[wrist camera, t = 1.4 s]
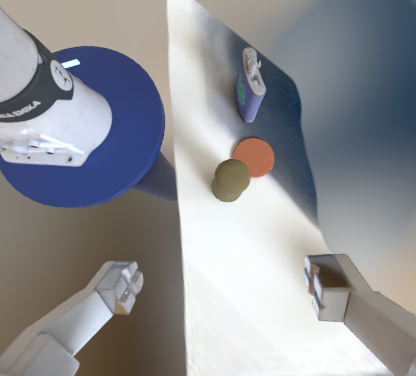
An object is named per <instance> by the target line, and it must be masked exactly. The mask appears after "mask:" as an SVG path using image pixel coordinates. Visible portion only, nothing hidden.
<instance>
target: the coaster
mask: <svg viewBox="0 0 416 376" xmlns="http://www.w3.org/2000/svg"><path fill="white" fill-rule="evenodd" d="M233 159H237V160H240V161H242V162H243V163H245V164H246V166H247V167H248V169H249V171H250V177H251V178H257V177H261V176H263V175H265V174H267V173H268V172H269V171H270V170H271V168H272V166H273V164H274V153H273V150H272V148H271V147H270V145H269V144H268V143H266V142H265V141H263V140H261V139H257V138H250V139H246V140H244V141H242V142H241V143H240V144H239V145H238V146H237V147H236V149H235V151H234V155H233Z"/></svg>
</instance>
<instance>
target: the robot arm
mask: <svg viewBox="0 0 416 376" xmlns="http://www.w3.org/2000/svg"><path fill="white" fill-rule="evenodd" d="M78 64H80V63H79V61H78V60H77V59H76V60H73V61H69V62H66V63H62V64H61V63H60V62H59V60H58V59H57V58H56V57H55V56H54V55H53V54H52V53H51V52H50V51H49V50H48V49H47V48H46V47H45V46H44V45H43V44H42V43H41V42H40V41H39V40H38V39H37V38H36V37H35V36H34V35H32V34H31V33H30V32H28V31H27V30H25V29H23V28H21V27H20V26H19V25H18V24H17V23H16V22H15V21H14V20H13V19H12V18H11V17H10V16H9V15H8V14H7V13H6V12H5V11H4V10H3V9H2V8H1V7H0V154H1V156H2V157H3V159H4V160H5V161H7V162H10V163H18V164H37V165H55V166H73V167H79V166H81V165H82V164H83V163H84V162H85V161H86V159H87V157H88V156H89V154H90V153H91V152H92V151H93V150H94V149H95V148H97V147H98V146H99V145H100V144H101V143H102V142H103V141H104V139H105V138H106V136H107V135H108V133H109V131H110V128H111V124H112V112H111V108H110V106H109V104H108V102H107V101H106V99H105V98H104V97H103V96H102V95H100V94H99V93H97V92H96V91H94V90H92V89H91V88H89V87H88V86H87V85H85V84H84V83H83V82H82V81H81V80H80V79H78V78H77V77H75V76H74V75H72V74H71V73H70V72H69V71H67V70H66V69H65V68H67V67H71V66H74V65H78ZM71 158H72V160H71V161H70V159H71ZM304 262H305V265H306V267H305V268H304V279H305V284H306V287H307V290H308V293H310V294H311V295H312V296H313V300H312V304H313V307H314V309H315V312H316V315H317V317H318V320H319V321H332V322H344V324H345V325H346V326H347V327H348V328H349V329H350V330H351V332H352V333H353V334H354V335H355V336H356V337H357V338H358V339H359V340H360V341H361V342H362V343H363V344H364V345H365V346H366V347H367V348H368V349H369V350H370V351H371V352H372V353H373V354H374V355H375V356H376V357H377V358H378V359H379V360H380V361H381V362H382V363H383V364H384V365H385V366H386V367H387V368H388V369H389V370H390V371H391V372H392V373H393V374H394V375H395V376H416V316H415V315H413V314H412V313H410V312H408V311H407V310H405V309H404V308H402V307H401V306H399V305H398V304H396V303H395V302H393V301H392V300H390V299H389V298H387V297H386V296H384V295H382V294H381V293H380V292H376V291H372V289H371V288H370V286H369V285H368V283H367V282H366V280H365V279H364V278H363V276H362V275H361V273H360V272H359V271H358V269H357V268H356V266H355V265H354V263H353V262H352V261H351V259H350V258H349V256H348V255H346V254H325V255H305V258H304ZM137 267H138V265H137V263H136V262H135V261H108V262H106V263H105V264H104V265H103V266H102V267H101V269H100V270H99V271H98V272H97V274H96V275H95V276H94V278H93V279H92V280H91V282H90V283H89V284H88V285H87V287H86V288H85V289H84V290H81V291H79V292H78V293H76V294H75V295H73V296H72V297H71V298H69V299H68V300H66V301H65V302H63V303H62V304H61V305H59V306H58V307H56V308H55V309H54V310H52V311H51V312H50V313H48V314H46V315H45V316H44V317H42V318H41V319H39V320H38V321H36V322H35V323H34V324H32V325H31V326H30V327H28V328H26V329H25V330H24V331H22V332H21V334H20V335H19V336H18V337H17V338H16V339H15V340H14V341H13V343H12V344H11V345H10V346H9V347H8V348H7V349H6V351H4V353H3V354H2V355H1V356H0V376H74V375H75V373H76V371H77V369H78V367H79V362H78V361H77V360H76V359H75V358H74V357H73V356H74V355H75V354H76V353H77V352H78V351H79V350H80V349H81V348H82V347H83V346H84V345H85V344H86V343H87V341H88V340H89V339H90V338H91V337H92V336H93V335H94V334H95V333H96V332H97V331H98V330H99V329H100V328H101V327H102V326H103V325H104V324H105V323H106V322H107V321H108V320H109V319H110V318H111V317H112V316H113V314H129V312H130V310H131V308H132V306H133V304H134V302H135V295H136V294H137V293H138V292H140V289H141V287H142V283H143V275H142V273H141V272H140V271H139V270H138V269H137Z"/></svg>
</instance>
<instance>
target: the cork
mask: <svg viewBox="0 0 416 376" xmlns="http://www.w3.org/2000/svg"><path fill="white" fill-rule="evenodd" d="M250 179H251V178H250V171H249V169H248V167H247V166H246V164H245V163H243V162H242V161H240V160H237V159H229V160H226V161H223V162H222V163H221V164H219V166H218V167H217V169H216V171H215V179H214V180H213V183H212V191H213V194H214V195H215V196H216V198H217V199H219V200H220V201H223V202H232V201H234V200H236V199H237V198H239V196H240V195H241V193H242V192H243V191H244V190H245V189H246V188H247V187H248V185H249V183H250Z"/></svg>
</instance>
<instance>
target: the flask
mask: <svg viewBox="0 0 416 376" xmlns="http://www.w3.org/2000/svg"><path fill="white" fill-rule="evenodd" d="M260 66H261V61H259V63H258V64H257V54H256V51H255V49H253V48H251V47H248V48H245V49H244V50H243V52H242V56H241V62H240V67H239V72H238V77H237V82H236V85H235V91H234V92H235V101H236V104H237V106H238V109H239V112H240V115H241V117H242V119H243V120H244V121H245V122H246V123H248V122H250V123H251V122H253V120H254V119H255V116H256V113H257V111H258V108H259V106H260V103H261V101H262V99H263V97H264V95H265V93H266V86H265V84H264V82H263V80H262V78H261V76H260V72H259V69H258V67H260Z"/></svg>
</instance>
